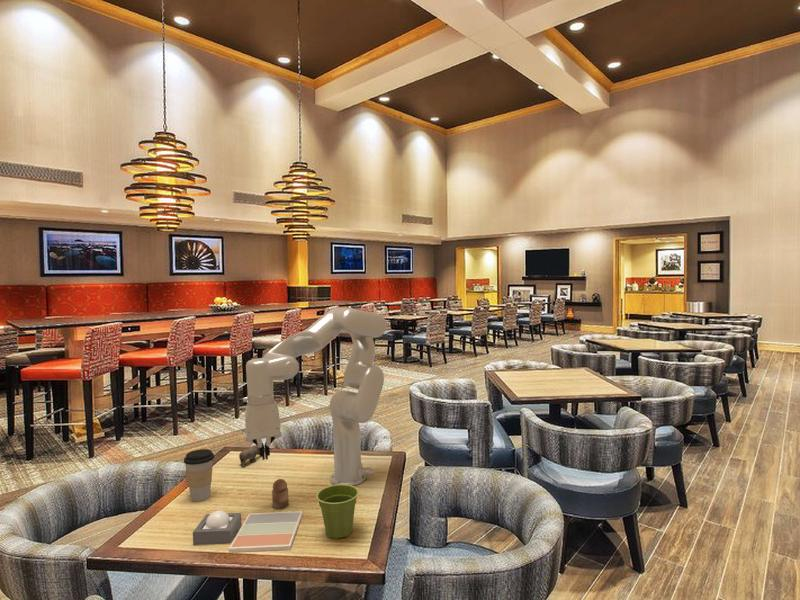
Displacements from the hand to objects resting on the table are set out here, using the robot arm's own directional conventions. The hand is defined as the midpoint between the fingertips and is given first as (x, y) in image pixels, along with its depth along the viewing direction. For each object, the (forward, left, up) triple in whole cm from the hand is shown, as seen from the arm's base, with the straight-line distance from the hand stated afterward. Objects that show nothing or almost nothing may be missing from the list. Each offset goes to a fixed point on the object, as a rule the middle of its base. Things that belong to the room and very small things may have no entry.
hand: (265, 458), depth 145 cm
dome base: (+11, +12, -17) cm, 23 cm away
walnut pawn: (-3, -4, -17) cm, 18 cm away
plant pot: (-23, +14, -17) cm, 32 cm away
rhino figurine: (+16, -44, -17) cm, 50 cm away
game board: (-3, +12, -17) cm, 21 cm away
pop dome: (+11, +12, -17) cm, 23 cm away
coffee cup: (+25, -12, -17) cm, 32 cm away
